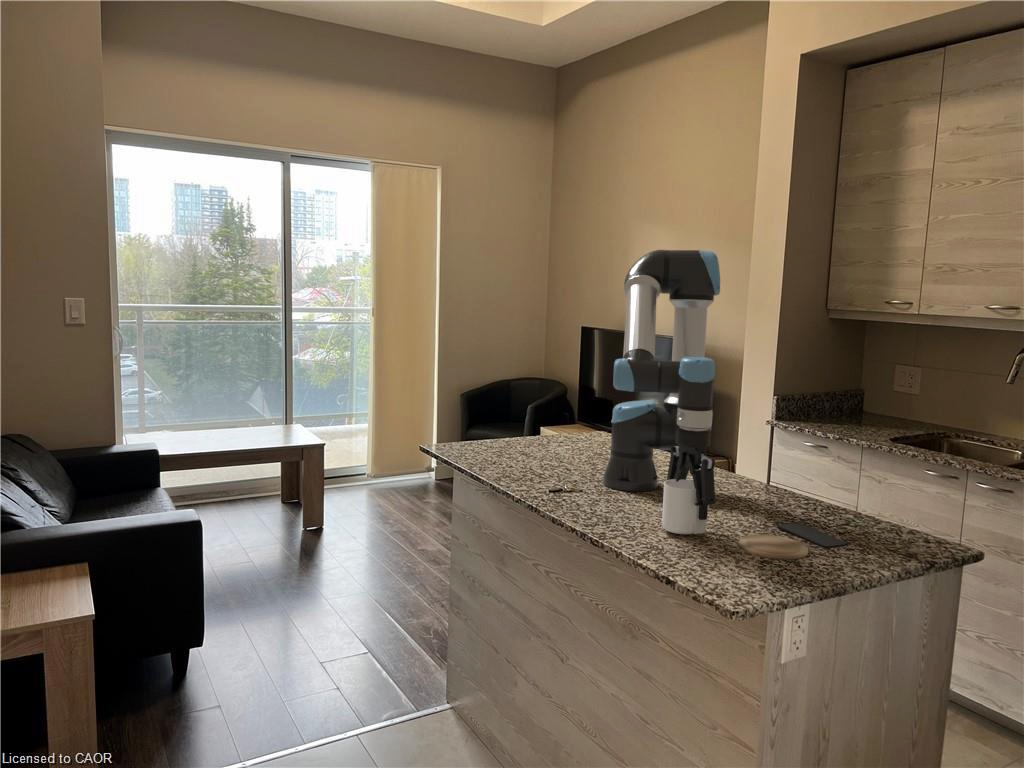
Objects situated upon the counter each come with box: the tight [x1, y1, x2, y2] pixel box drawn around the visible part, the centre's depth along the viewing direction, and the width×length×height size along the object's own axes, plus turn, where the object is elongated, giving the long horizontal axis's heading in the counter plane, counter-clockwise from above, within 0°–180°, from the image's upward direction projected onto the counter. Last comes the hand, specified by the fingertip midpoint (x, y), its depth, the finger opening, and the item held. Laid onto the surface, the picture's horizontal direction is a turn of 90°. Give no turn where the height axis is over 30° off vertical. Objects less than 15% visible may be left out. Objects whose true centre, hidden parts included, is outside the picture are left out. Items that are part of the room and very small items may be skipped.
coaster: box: [738, 533, 809, 561], centre depth 157 cm, size 14×14×1 cm
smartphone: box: [776, 522, 849, 549], centre depth 166 cm, size 7×1×15 cm
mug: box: [661, 479, 710, 535], centre depth 166 cm, size 12×8×10 cm
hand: (687, 526), depth 166 cm, fingers closed on mug, 8 cm apart
